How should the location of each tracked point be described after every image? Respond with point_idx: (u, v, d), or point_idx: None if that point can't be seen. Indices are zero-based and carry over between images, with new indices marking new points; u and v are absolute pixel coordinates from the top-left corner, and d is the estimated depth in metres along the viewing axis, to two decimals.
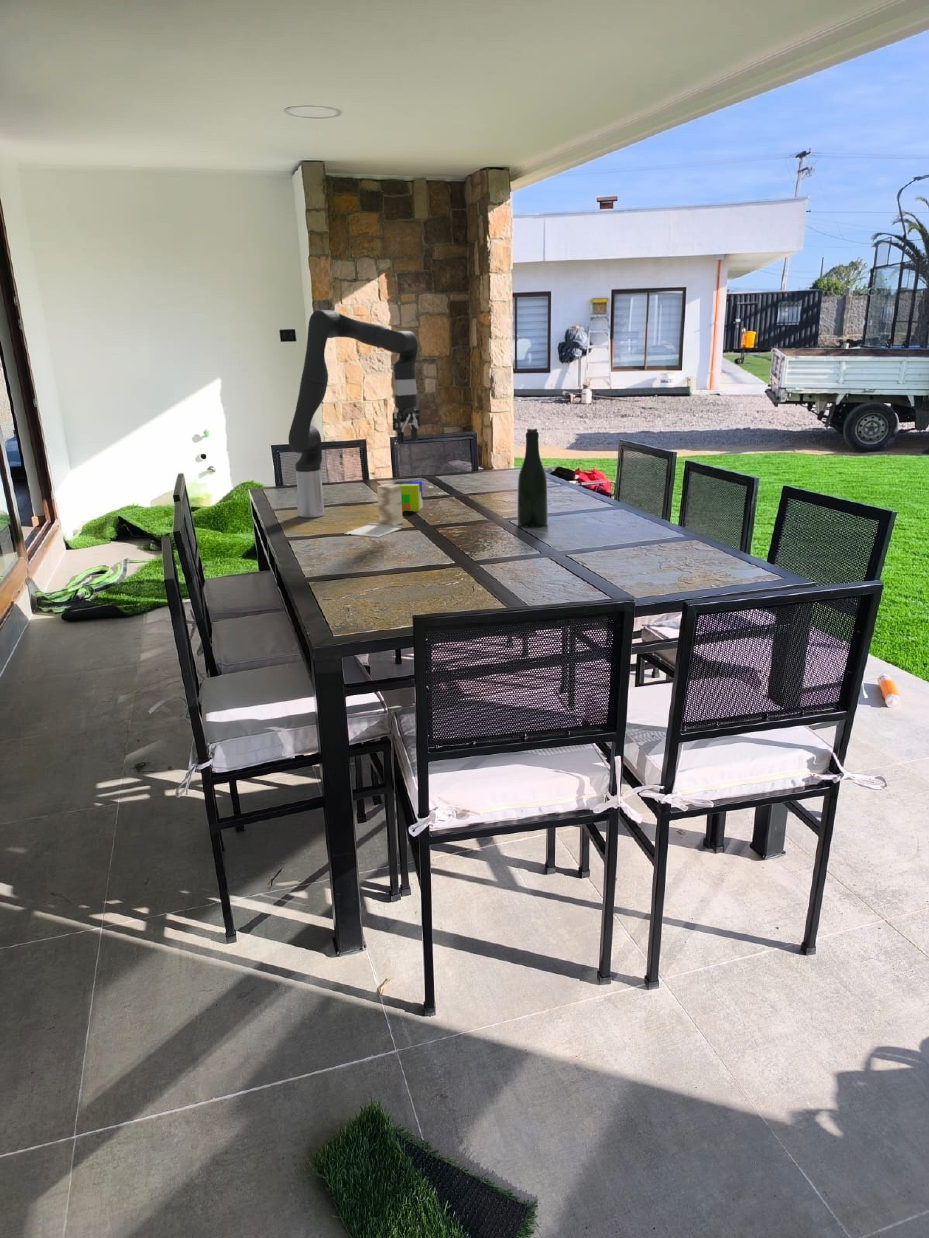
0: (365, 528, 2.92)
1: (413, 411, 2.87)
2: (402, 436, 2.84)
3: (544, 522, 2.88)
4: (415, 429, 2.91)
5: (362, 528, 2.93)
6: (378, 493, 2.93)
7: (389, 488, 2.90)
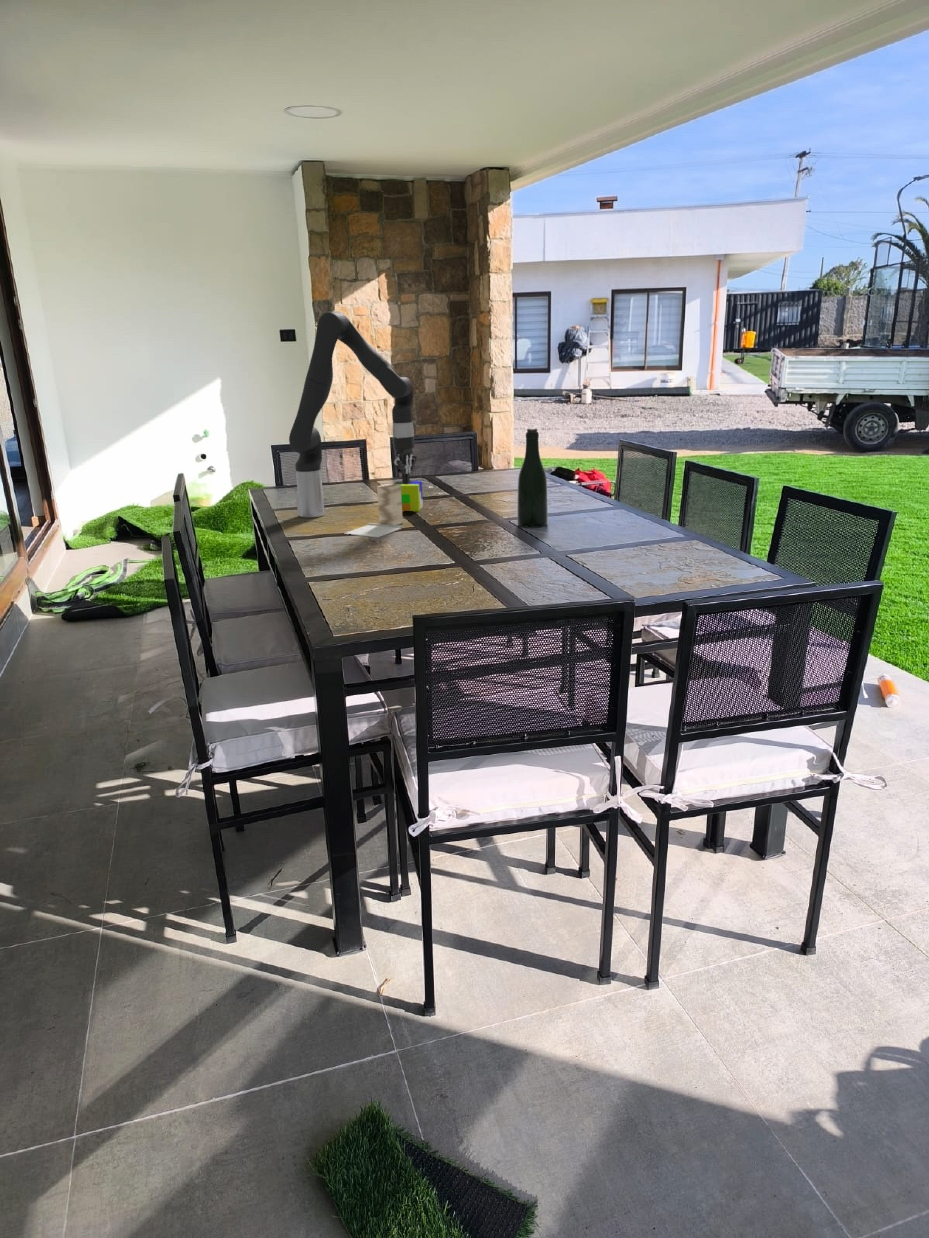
0: (365, 528, 2.92)
1: (411, 451, 3.02)
2: (406, 478, 3.02)
3: (544, 522, 2.88)
4: None
5: (362, 528, 2.93)
6: (378, 493, 2.93)
7: (389, 488, 2.91)
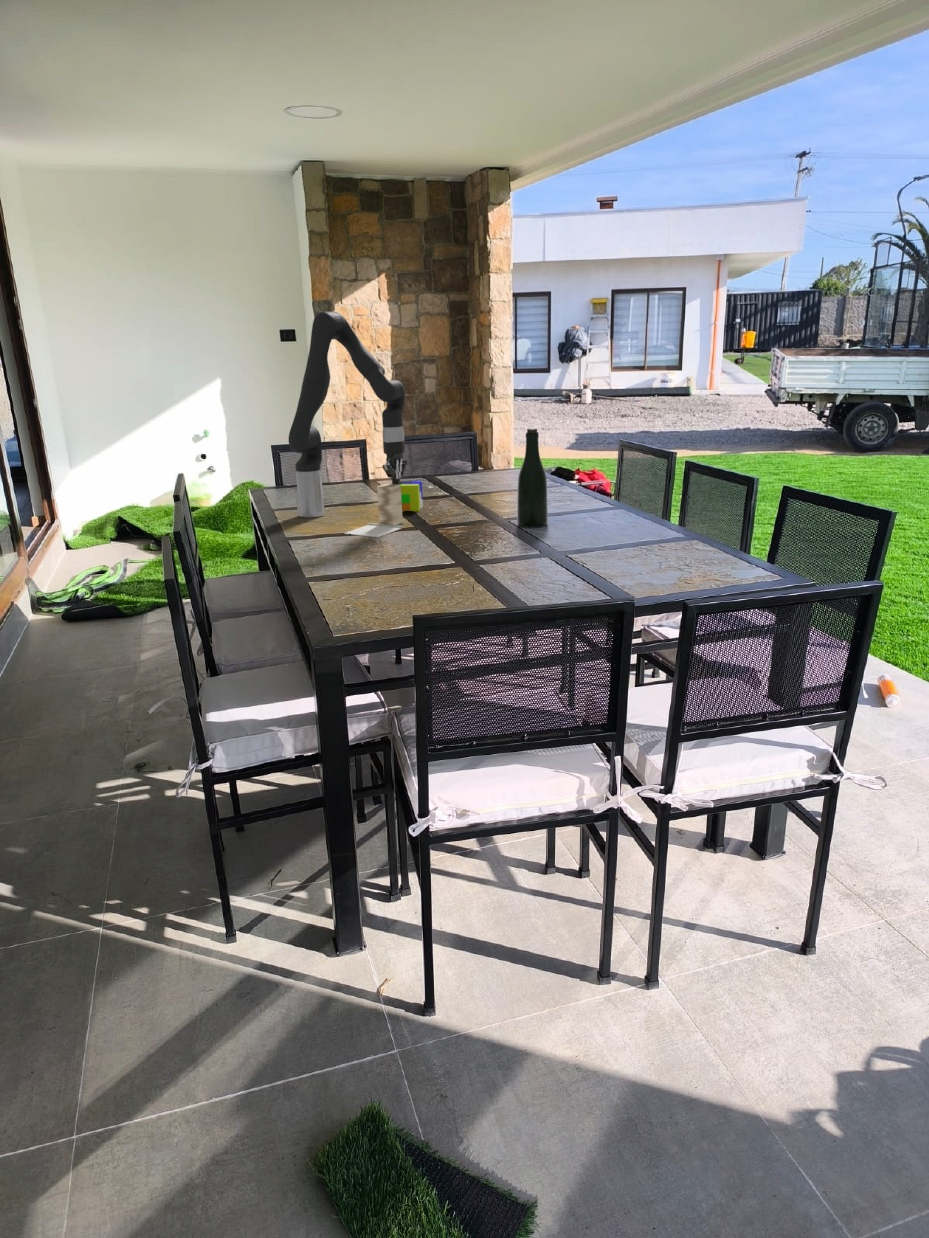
0: (365, 528, 2.92)
1: (401, 456, 2.97)
2: (397, 482, 2.97)
3: (544, 522, 2.88)
4: (397, 478, 2.97)
5: (362, 528, 2.93)
6: (378, 493, 2.93)
7: (389, 488, 2.90)
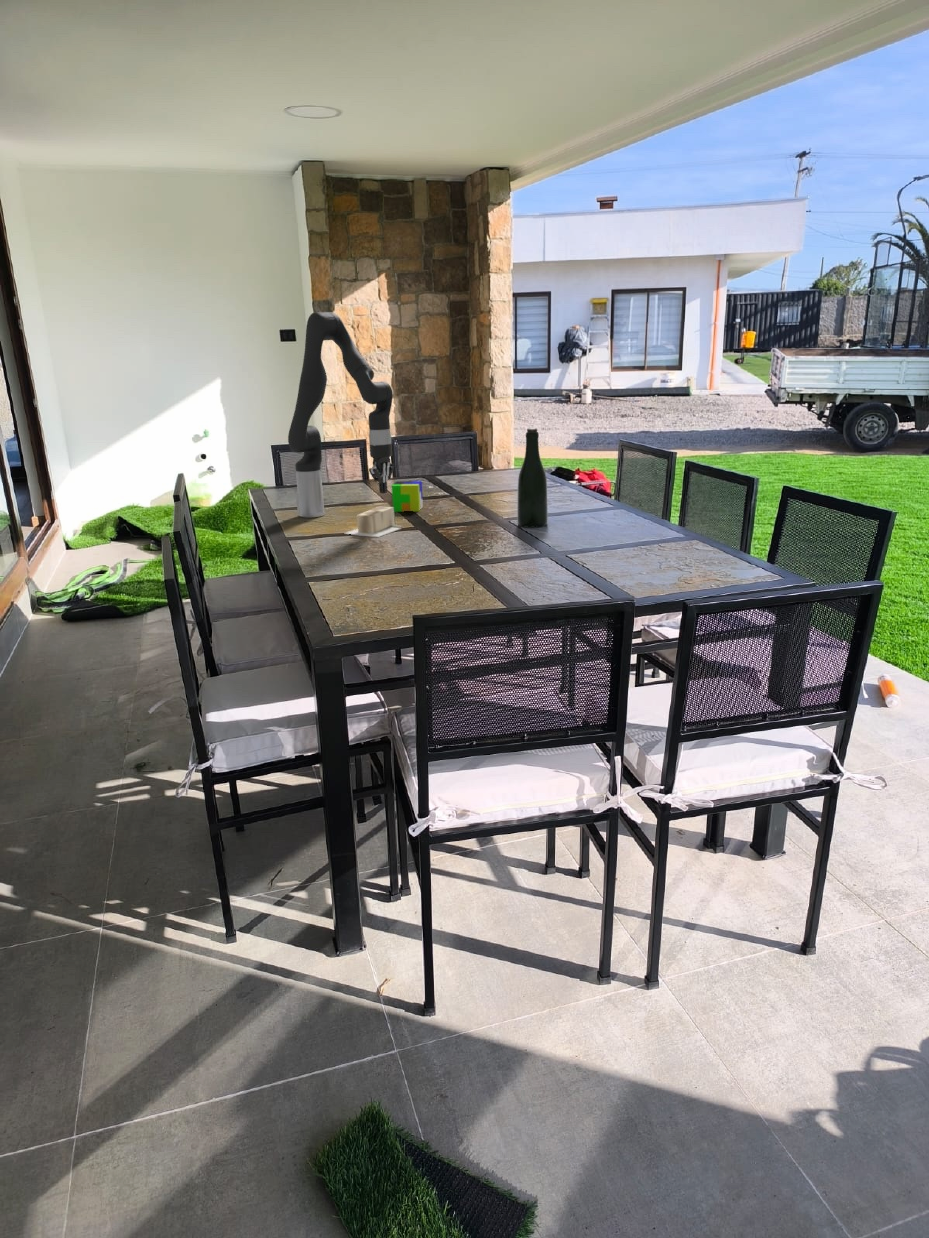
0: None
1: (389, 459, 2.90)
2: (384, 486, 2.90)
3: (544, 522, 2.88)
4: (384, 482, 2.90)
5: None
6: None
7: None
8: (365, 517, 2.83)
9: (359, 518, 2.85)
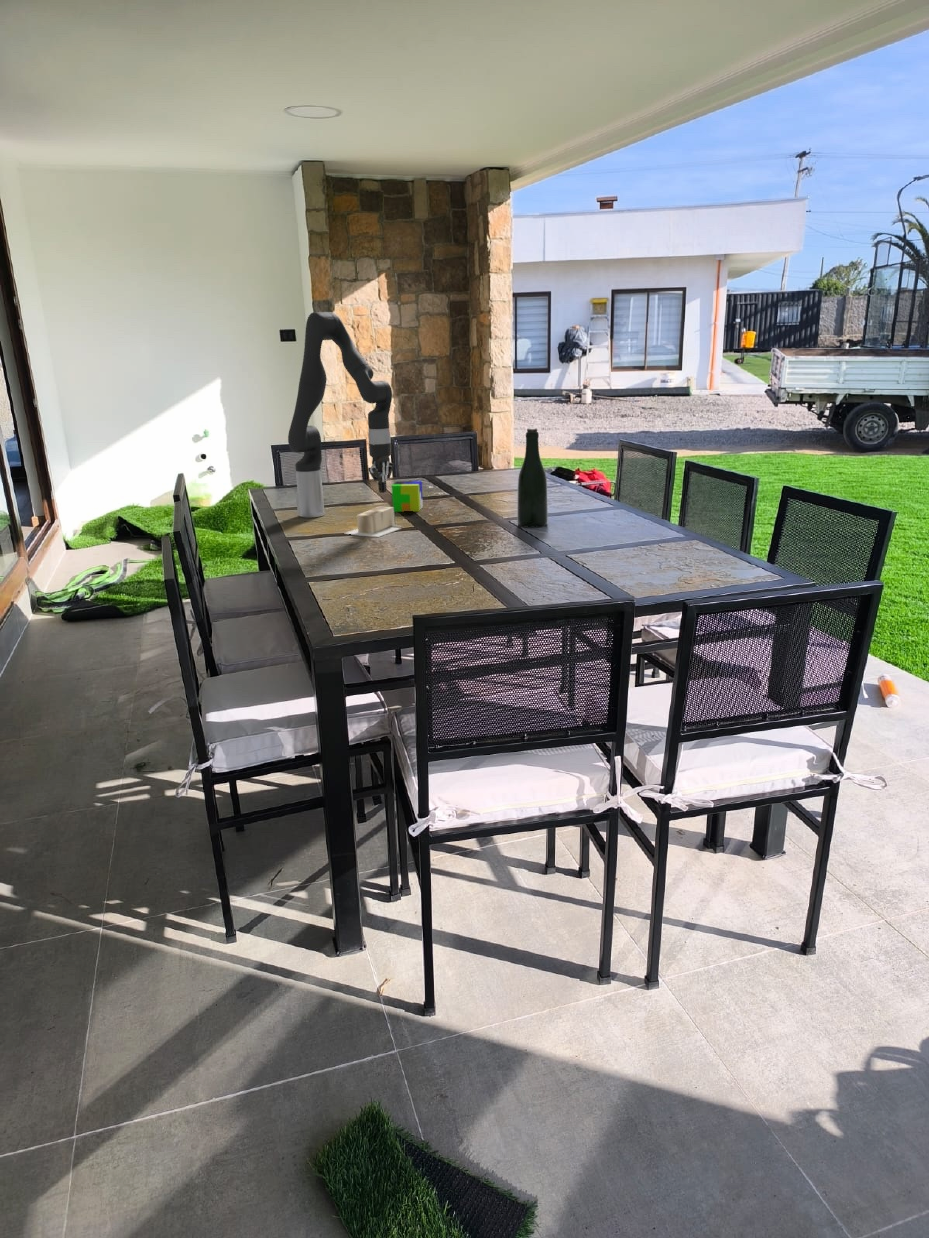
0: None
1: (388, 458, 2.90)
2: (383, 486, 2.89)
3: (544, 522, 2.88)
4: (384, 481, 2.90)
5: None
6: None
7: None
8: (365, 517, 2.83)
9: (359, 518, 2.85)
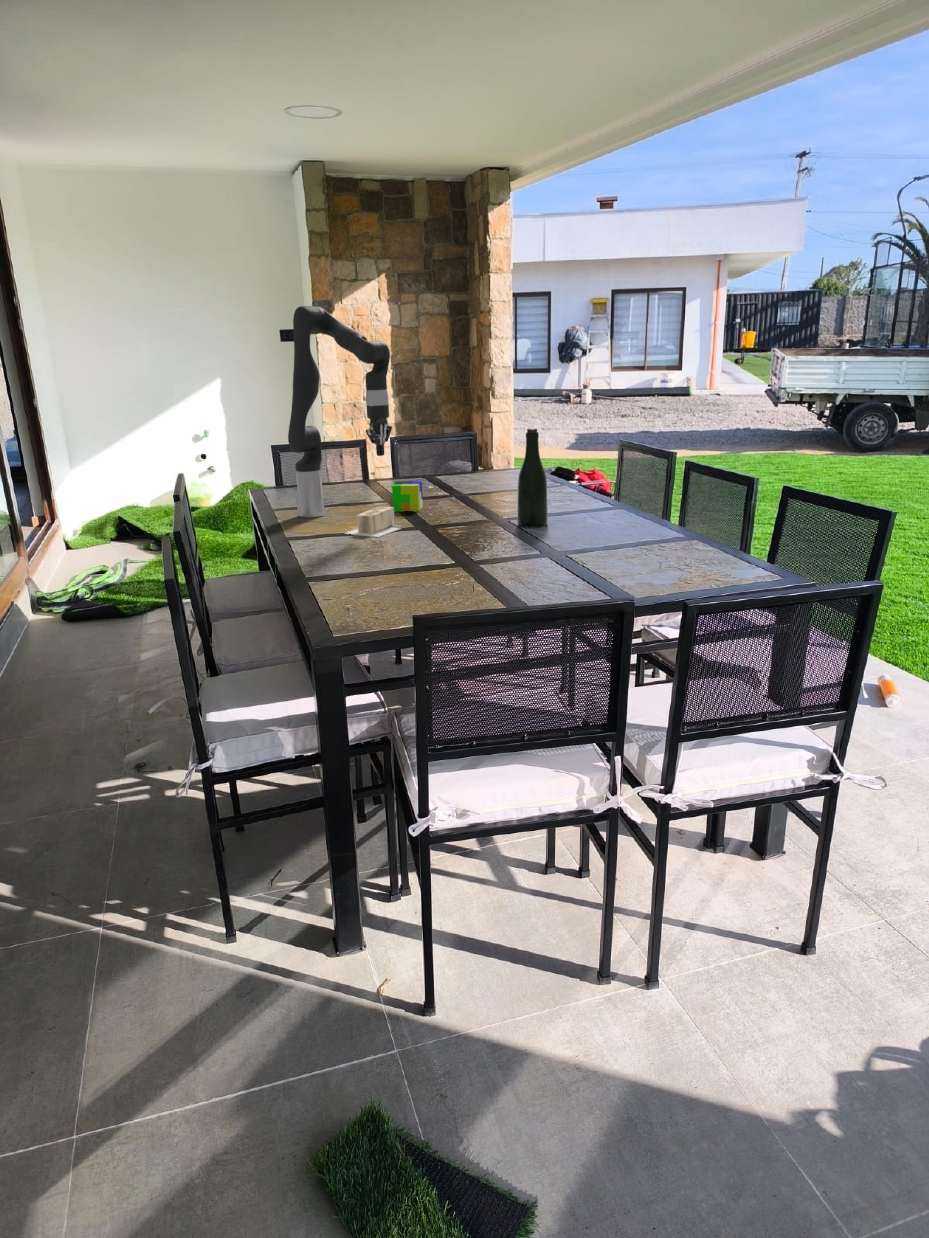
0: None
1: (386, 421, 2.86)
2: (381, 449, 2.85)
3: (544, 522, 2.88)
4: (381, 444, 2.86)
5: None
6: None
7: None
8: (365, 517, 2.83)
9: (359, 518, 2.85)
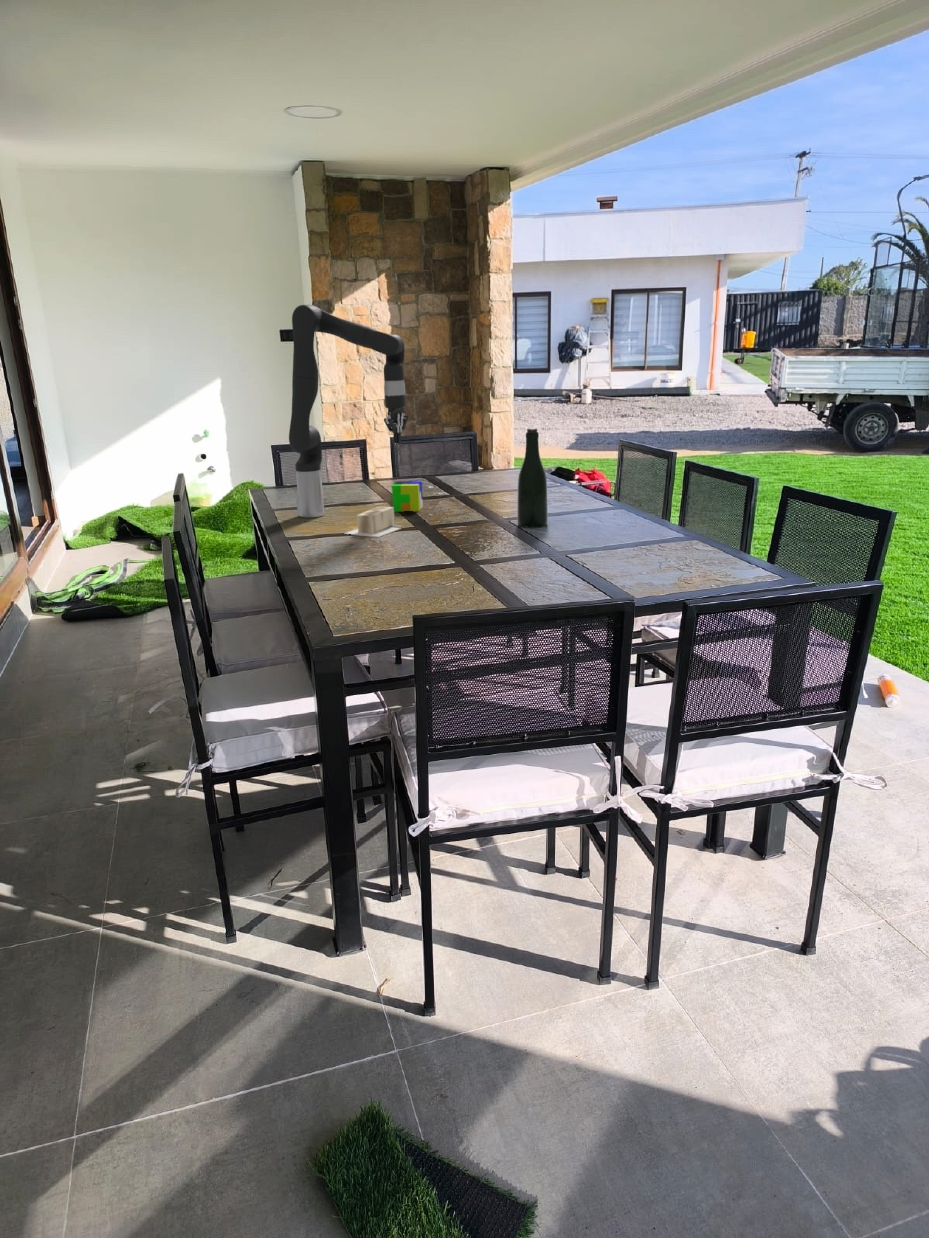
0: None
1: (403, 410, 3.01)
2: (398, 437, 3.01)
3: (544, 522, 2.88)
4: (399, 432, 3.01)
5: None
6: None
7: None
8: (365, 517, 2.83)
9: (359, 518, 2.85)
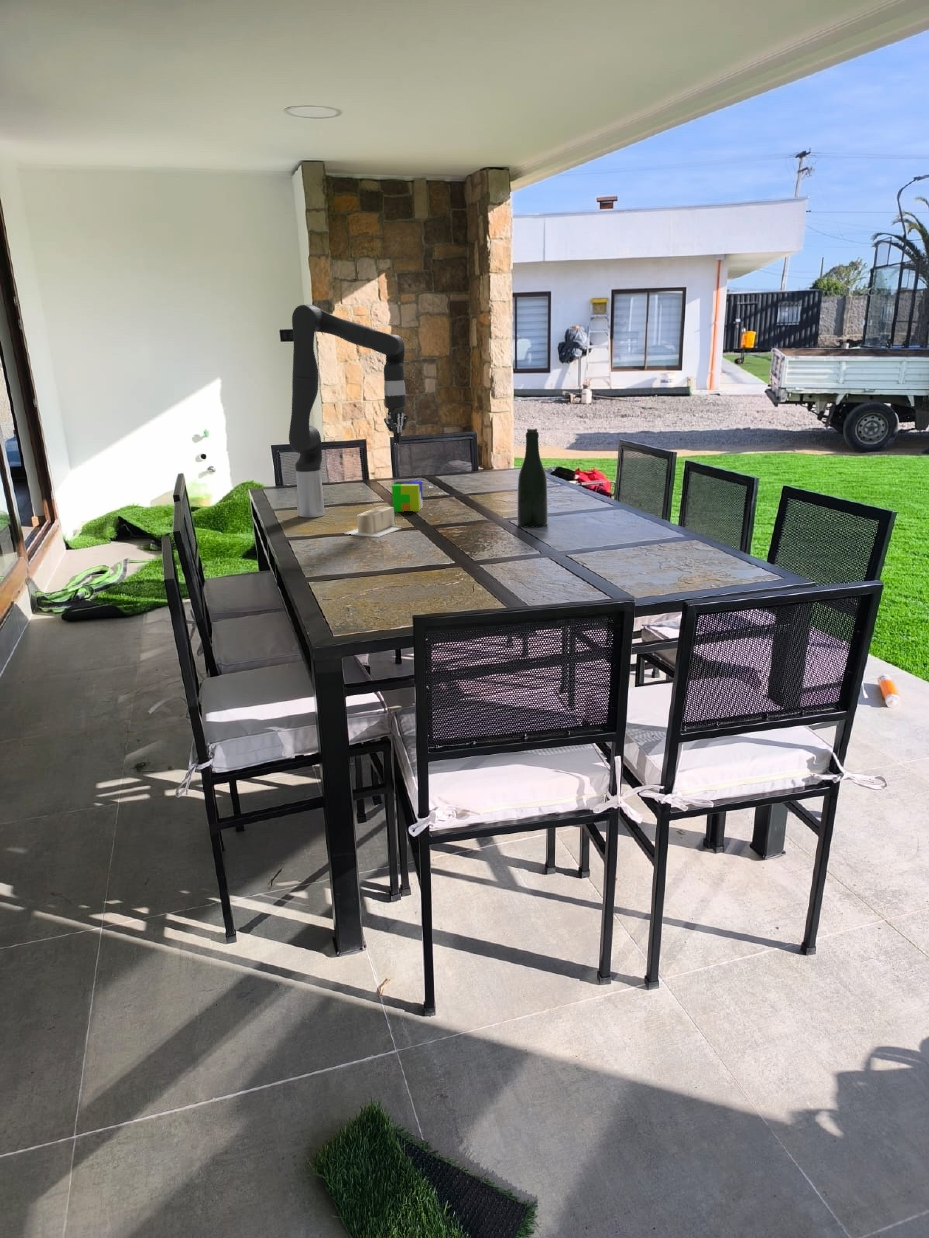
0: None
1: (403, 410, 3.01)
2: (398, 437, 3.01)
3: (544, 522, 2.88)
4: (399, 432, 3.01)
5: None
6: None
7: None
8: (365, 517, 2.83)
9: (359, 518, 2.85)
